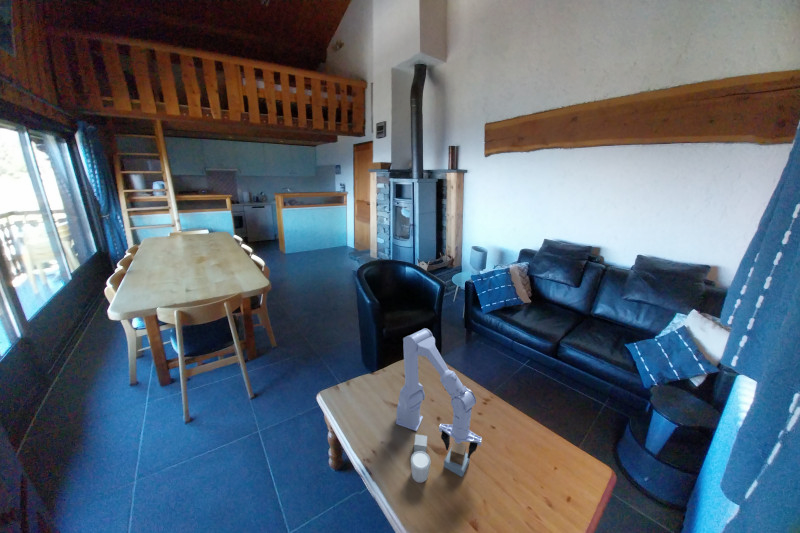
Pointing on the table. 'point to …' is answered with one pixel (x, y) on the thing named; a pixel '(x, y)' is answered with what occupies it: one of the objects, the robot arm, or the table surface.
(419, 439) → the grey cube
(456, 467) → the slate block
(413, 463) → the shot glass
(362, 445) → the table surface
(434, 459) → the table surface
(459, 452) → the walnut cube
